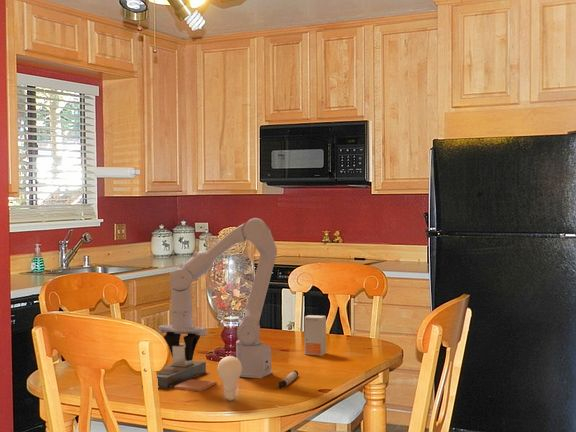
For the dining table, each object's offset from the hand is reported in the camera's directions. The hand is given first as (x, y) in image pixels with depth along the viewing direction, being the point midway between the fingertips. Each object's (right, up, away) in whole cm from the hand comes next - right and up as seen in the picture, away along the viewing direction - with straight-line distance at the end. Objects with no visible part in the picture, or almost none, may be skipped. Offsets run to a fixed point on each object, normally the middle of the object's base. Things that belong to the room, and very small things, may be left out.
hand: (182, 359), depth 221 cm
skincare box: (+38, -3, +27) cm, 47 cm away
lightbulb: (+15, -6, -27) cm, 31 cm away
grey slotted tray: (-2, -5, -3) cm, 6 cm away
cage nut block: (0, -4, 0) cm, 4 cm away
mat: (+5, -5, -12) cm, 14 cm away
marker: (+30, -5, -10) cm, 32 cm away
